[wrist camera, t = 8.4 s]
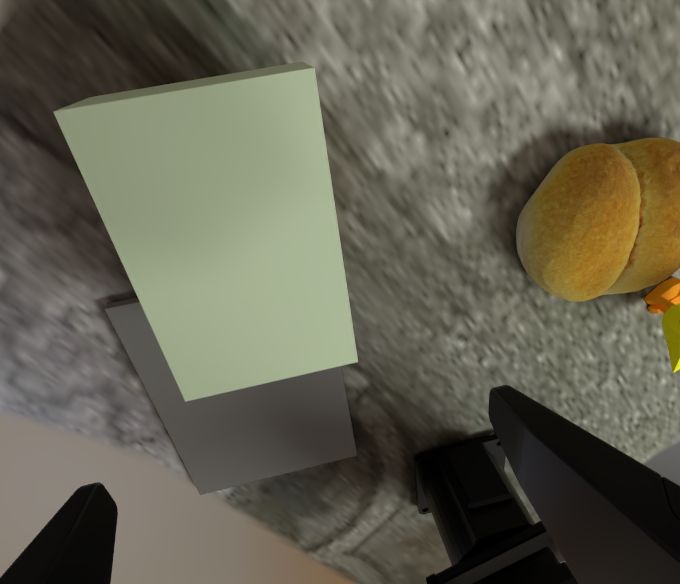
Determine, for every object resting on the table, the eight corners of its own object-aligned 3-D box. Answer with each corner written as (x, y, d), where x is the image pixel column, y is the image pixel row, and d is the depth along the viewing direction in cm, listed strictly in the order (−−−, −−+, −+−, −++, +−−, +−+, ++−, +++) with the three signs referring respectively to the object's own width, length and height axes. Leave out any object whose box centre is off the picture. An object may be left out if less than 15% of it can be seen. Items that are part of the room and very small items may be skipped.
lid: (342, 318, 19) (357, 362, 16) (193, 351, 18) (185, 401, 16) (301, 61, 14) (314, 67, 11) (90, 96, 13) (52, 111, 11)
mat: (355, 449, 28) (357, 455, 28) (200, 487, 27) (200, 494, 27) (321, 258, 21) (323, 263, 20) (107, 303, 20) (104, 309, 19)
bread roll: (519, 147, 20) (575, 169, 17) (690, 126, 21) (776, 143, 18) (498, 298, 24) (539, 341, 21) (641, 275, 25) (702, 311, 22)
